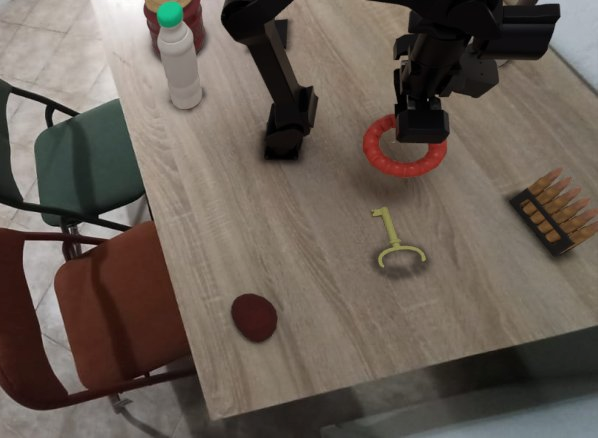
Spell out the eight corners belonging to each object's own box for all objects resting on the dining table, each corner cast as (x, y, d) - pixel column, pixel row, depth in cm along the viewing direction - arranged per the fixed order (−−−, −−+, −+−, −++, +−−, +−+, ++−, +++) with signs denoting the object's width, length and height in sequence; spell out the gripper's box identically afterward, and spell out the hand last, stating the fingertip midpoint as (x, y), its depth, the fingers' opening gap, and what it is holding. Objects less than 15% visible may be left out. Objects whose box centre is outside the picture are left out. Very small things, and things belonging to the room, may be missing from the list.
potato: (268, 293, 79) (269, 284, 73) (283, 339, 75) (285, 333, 70) (228, 302, 80) (226, 293, 75) (240, 348, 76) (239, 342, 71)
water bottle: (167, 108, 101) (144, 21, 79) (177, 84, 103) (157, -7, 81) (196, 112, 98) (180, 24, 77) (206, 87, 101) (193, -5, 79)
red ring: (359, 177, 72) (363, 170, 70) (362, 116, 76) (365, 108, 74) (444, 183, 68) (450, 176, 66) (442, 118, 72) (448, 109, 70)
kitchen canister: (171, 17, 112) (158, -47, 97) (215, 30, 107) (209, -36, 91) (143, 54, 110) (125, -6, 94) (187, 69, 104) (175, 8, 89)
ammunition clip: (566, 252, 69) (622, 222, 59) (554, 256, 69) (607, 227, 59) (520, 197, 74) (563, 160, 64) (508, 200, 74) (550, 164, 64)
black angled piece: (249, 51, 102) (249, 25, 95) (251, 25, 105) (251, -2, 98) (286, 48, 99) (288, 22, 93) (287, 22, 102) (289, -5, 96)
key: (381, 207, 79) (385, 202, 77) (429, 265, 74) (434, 261, 72) (345, 225, 80) (347, 221, 78) (390, 284, 74) (393, 280, 72)
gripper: (519, 107, 53) (465, 171, 67) (502, -5, 60) (456, 74, 74) (413, 107, 57) (382, 168, 71) (408, 2, 64) (381, 76, 77)
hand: (403, 120), depth 73 cm, fingers closed on red ring, 2 cm apart
